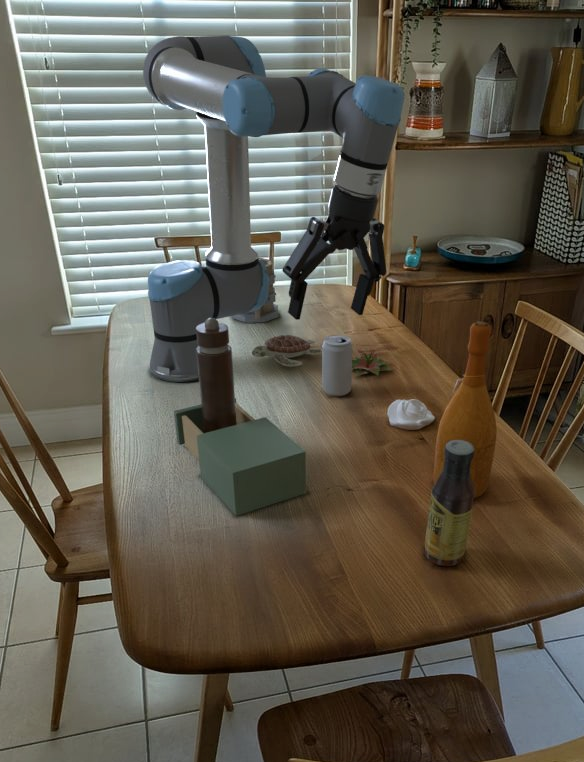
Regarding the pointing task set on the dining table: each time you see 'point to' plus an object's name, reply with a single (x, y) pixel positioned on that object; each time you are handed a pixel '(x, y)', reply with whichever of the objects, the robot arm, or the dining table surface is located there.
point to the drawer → (198, 425)
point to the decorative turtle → (285, 349)
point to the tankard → (268, 309)
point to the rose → (409, 414)
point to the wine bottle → (471, 413)
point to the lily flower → (369, 364)
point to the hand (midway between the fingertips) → (326, 313)
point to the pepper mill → (215, 375)
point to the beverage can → (336, 365)
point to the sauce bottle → (451, 506)
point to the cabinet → (252, 465)
